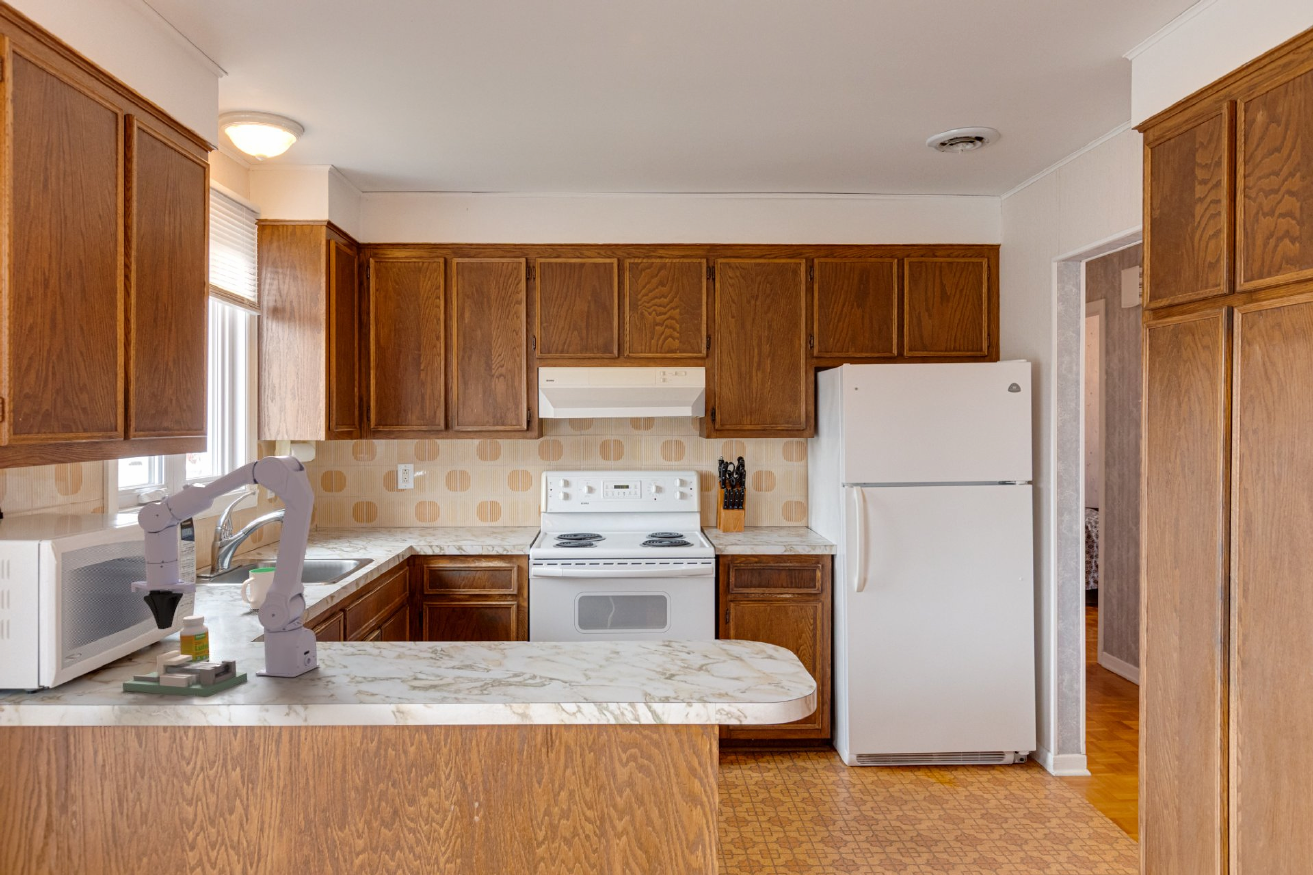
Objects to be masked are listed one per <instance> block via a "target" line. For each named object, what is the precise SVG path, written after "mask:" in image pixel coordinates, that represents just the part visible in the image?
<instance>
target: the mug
mask: <svg viewBox="0 0 1313 875" xmlns="http://www.w3.org/2000/svg"><path fill="white" fill-rule="evenodd" d="M274 572H275V567H261V568H255V569H251V570H249V571H248V573H249V574H248V575H249V576H248V577H249V578H248V579H246V580H244V581H243V583H242V585H241V590H240V594H241V600H242V601H243V602H245V603H246V604H249V605H250V606H249V607H250V609H251V608H252V609H251V610H253V609H260V607H261V605H262V604H263V603H264V601H265V599H266V593H267V591H268V589H269V587H270V586H271V584H272V582H273V578H274ZM248 586H249V598H250V599H248V596H247V587H248Z"/></svg>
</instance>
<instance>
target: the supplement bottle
mask: <svg viewBox="0 0 1313 875" xmlns="http://www.w3.org/2000/svg"><path fill="white" fill-rule="evenodd" d="M204 623H205V616H204V615H202V614H197V615H188V616H184V617H183V618H182V624H183V626H184V627H182V628H181V629H180V631H179V645H180V646H179V648H180V649H179V650H180V655H192V660H189V661H187V662H184V663H194V664H196V663H199V662H209V660H210V638H209V637H210V636H209V627H208V626H207V625H205V624H204Z"/></svg>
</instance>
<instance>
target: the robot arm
mask: <svg viewBox="0 0 1313 875" xmlns="http://www.w3.org/2000/svg"><path fill="white" fill-rule="evenodd" d="M246 485H260V486H261V487H263V488H265V489H266V490H268V491H270V492H272V493H274V494H275V495H276V496H277V497H278V498H279V499H280V501H282V502H283V503H284V505H285V506H284V507H285V508H284V513H283V520H282V524H281V525H282V526H281V531H280V536H279V542H278V549H277V554H276V555H277V556H276V562H275V572H274V578H273V582H272V584H271V586H270V587H269V589H268V591H267V593H266V599H265V601H264V603H263V604H262V605H261V607H260V609H259V610H257V618H258V621H259V624H260V625H261V626H262V627H263V640H264V642H263V643H264V661H265V662H264V664H265V665H264V666H265V668H262V669H260V670H258V671H255V673H254V674H255V675H259V676H269V677H270V676H271V677H273V676H274V677H284V678H295V677H297V676H300V675H302V674H305V673H307V672H310V671H311V670H314V669H316V668H318V667H320V666H321V665H320V663H318V658H317V657H318V654H317V638H316V634H315V632H314V630H312V629H311V628H306V627H304V625H303V621H302V618H301V617H302V616H303V615H304V613H305V611H306V609H307V608H306V607H307V602H306V600H305V597H304V594H305V593H304V591H305V586H304V584H303V583H302V576H303V570H304V564H305V558H306V557H305V556H306V553H307V546H308V541H309V533H310V529H311V528H310V527H311V523H312V516H313V511H314V503H315V494H314V491H313V489H312V485H311V483H310V480H309V478H308V475H307V467H306V466H305V465H304V464H303V463H302V462H301V461H300V460H299V459H298V458H297V457H295V456H293V455H290V454H282V455H280V456H265V457H262V458H261V459H258V460H255V461H251V462H249V463H246V464H243V465H242V466H240V467H238V468H236V469H234V470H233V471H230V472H229V473H226V474H225V475H223V476H221V477H219V478H217V479H215V480H213V481H212V482H209V483H207V484H206V485H203V484H200V483H194V484H192V483H186V484H184V485H182V490H179V491H178V492H175V493H174V494H172V495H168V494H166V495H164V496H161V497H160V498H161V501H160V502H148V503H147V504H146V505H144V506H143V507H141V509H140V510H139V511H138V514H137V522H138V524H139V527H140V528H141V529H142V530H143V531H144V532H143V533H144V534H143V535H144V536H143V537H144V555H145V559H144V560H145V576H146V579H145V581H144V580H143V581H141V580H140V581H135V582H134V581H133V582H131V584H130V586H131V587H130V589H131V591H130V592H131V593H138V592H139V593H148V595H147V594H146V595H144V596H143V601H144V602H145V603H146V604H147V606H148V607H149V609H150V611H151V612H152V615H153V618H154V621H155V624H156V626H157V629H158V630H166V629H170V628H172V626H173V621H174V619H175V618H174V617H175V613H176V610H177V607H178V605H179V604H180V601H181V599H182V598H183V597H184V595H191V594H194V593H196V592H197V591H196V588H197V587H196V582H189V581H184V580H183V579H180V569H179V568H180V566H179V545H178V528H179V526H180V525H181V523H183V522H184V521H187V520H188V519H191V518H192V517H195V516H197V515H199V514H201V513H203V512H205V511H207V510H210V509H211V508H212V506H213V504H214V500H215V499H217V498H220V497H222V496H224V495H227V494H229V493H231V492H232V491H235V490H237V489H239V488H242V487H245V486H246Z"/></svg>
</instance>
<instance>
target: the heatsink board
mask: <svg viewBox="0 0 1313 875" xmlns="http://www.w3.org/2000/svg"><path fill="white" fill-rule="evenodd" d="M225 662H226V663H228V664H229V670H228V671H227V672H224V673H222V674H219V675H216V676H215V670H214V668H201V669H200V674H189V673H172V674H165V676H163V675H162V676H157V670H156V671H153V672H150V673H147V674H135V675H133V676H132V677H133V679H129V680H126V681H124V682H122V691H125V692H126V691H127V692H138V693H139V692H140V693H151V694H163V695H164V694H165V695H174V696H175V695H178V696H191V697H199V698H200V697H203V698H204V697H205V698H209V697H210V696H213V695H215V694H218V693H220V692H222V691H225V690H227V689H230V688H232V687H235V686H237V685H240V684H241V683H244V682H247V681H248V673H247V672H242V671H241V672H239V671H237V669H236V668H237V665H236V664H237V662H236V660H234V659H224V660H221V662H213V661H212V662H211V661H206V662H199V663H196V664H215V665H219V664H222V663H225Z"/></svg>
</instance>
